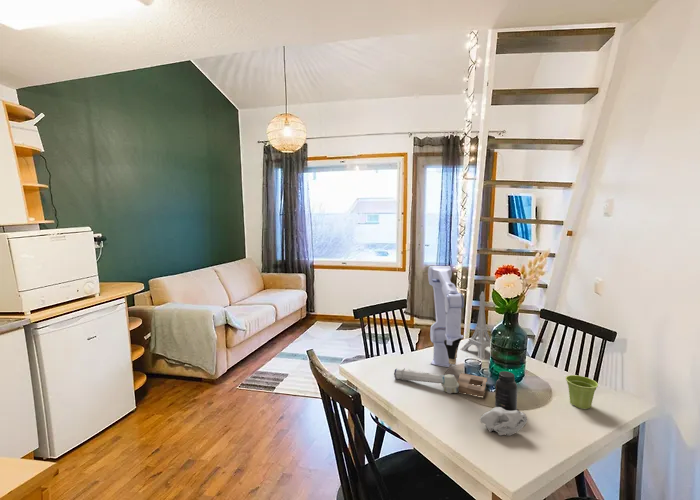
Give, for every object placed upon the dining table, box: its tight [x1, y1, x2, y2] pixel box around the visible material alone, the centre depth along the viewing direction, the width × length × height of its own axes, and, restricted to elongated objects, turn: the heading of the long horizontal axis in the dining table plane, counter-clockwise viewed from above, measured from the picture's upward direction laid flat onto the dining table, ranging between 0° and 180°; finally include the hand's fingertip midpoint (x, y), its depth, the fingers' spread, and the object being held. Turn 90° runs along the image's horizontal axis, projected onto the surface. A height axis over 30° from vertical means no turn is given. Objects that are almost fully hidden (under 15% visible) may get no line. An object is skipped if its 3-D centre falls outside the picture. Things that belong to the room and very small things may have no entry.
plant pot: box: [565, 374, 599, 410], centre depth 120 cm, size 9×9×9 cm
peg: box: [449, 349, 458, 365], centre depth 137 cm, size 3×3×7 cm
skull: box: [479, 406, 528, 437], centre depth 105 cm, size 8×9×12 cm
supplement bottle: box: [494, 370, 518, 411], centre depth 118 cm, size 7×7×12 cm
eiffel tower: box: [460, 291, 491, 360], centre depth 167 cm, size 13×13×30 cm
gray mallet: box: [393, 367, 459, 394], centre depth 134 cm, size 5×7×25 cm
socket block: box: [456, 372, 488, 398], centre depth 132 cm, size 12×10×2 cm
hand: (452, 356), depth 137 cm, fingers closed on peg, 3 cm apart
